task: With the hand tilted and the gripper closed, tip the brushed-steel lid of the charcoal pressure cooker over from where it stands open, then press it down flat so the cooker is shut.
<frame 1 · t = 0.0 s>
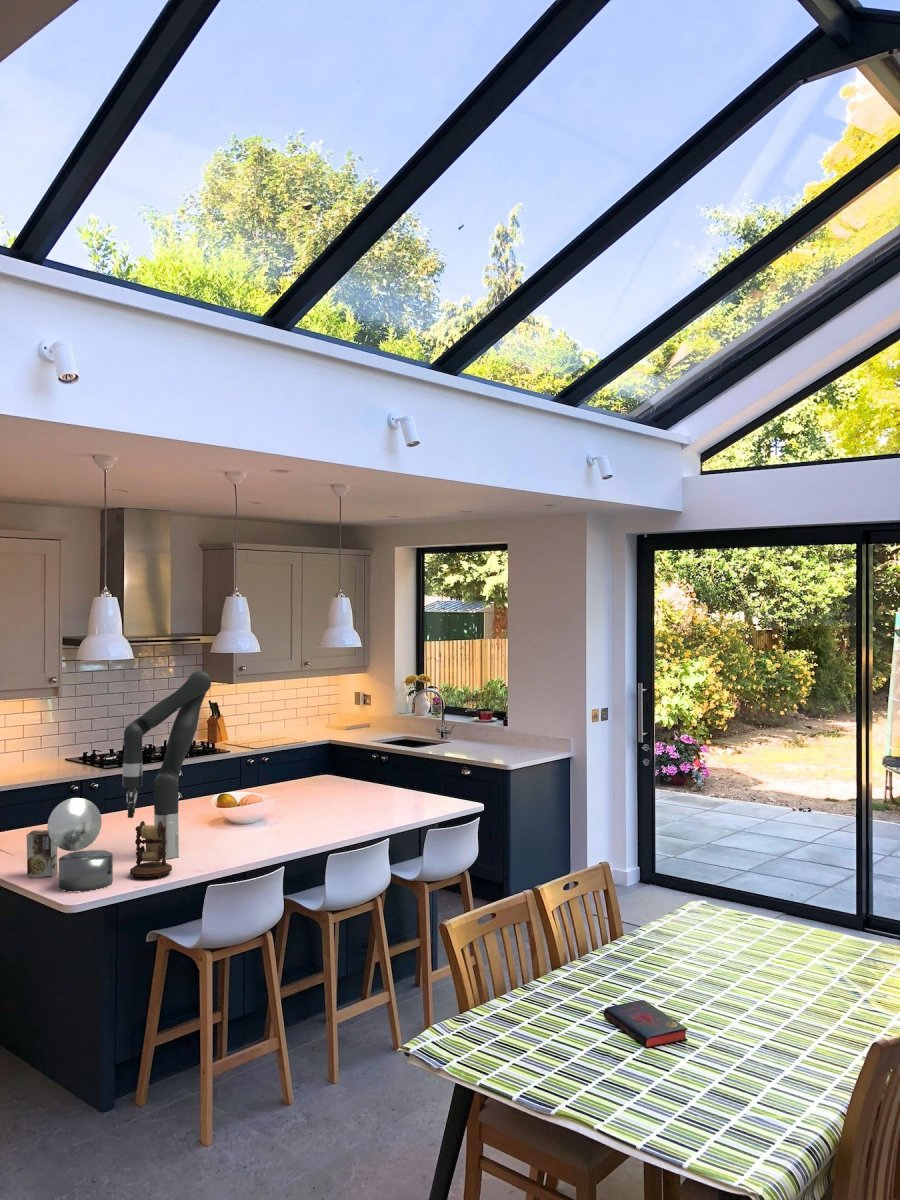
hand: (131, 815, 377), 17 cm above the table, tool pointing down, fingers open, 8 cm apart
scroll: (151, 875, 354), on the table
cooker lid: (74, 824, 352), point 20 cm above the table, hinge at 96.0°
coffee box: (42, 875, 355), on the table
pressure cooker: (86, 884, 342), on the table
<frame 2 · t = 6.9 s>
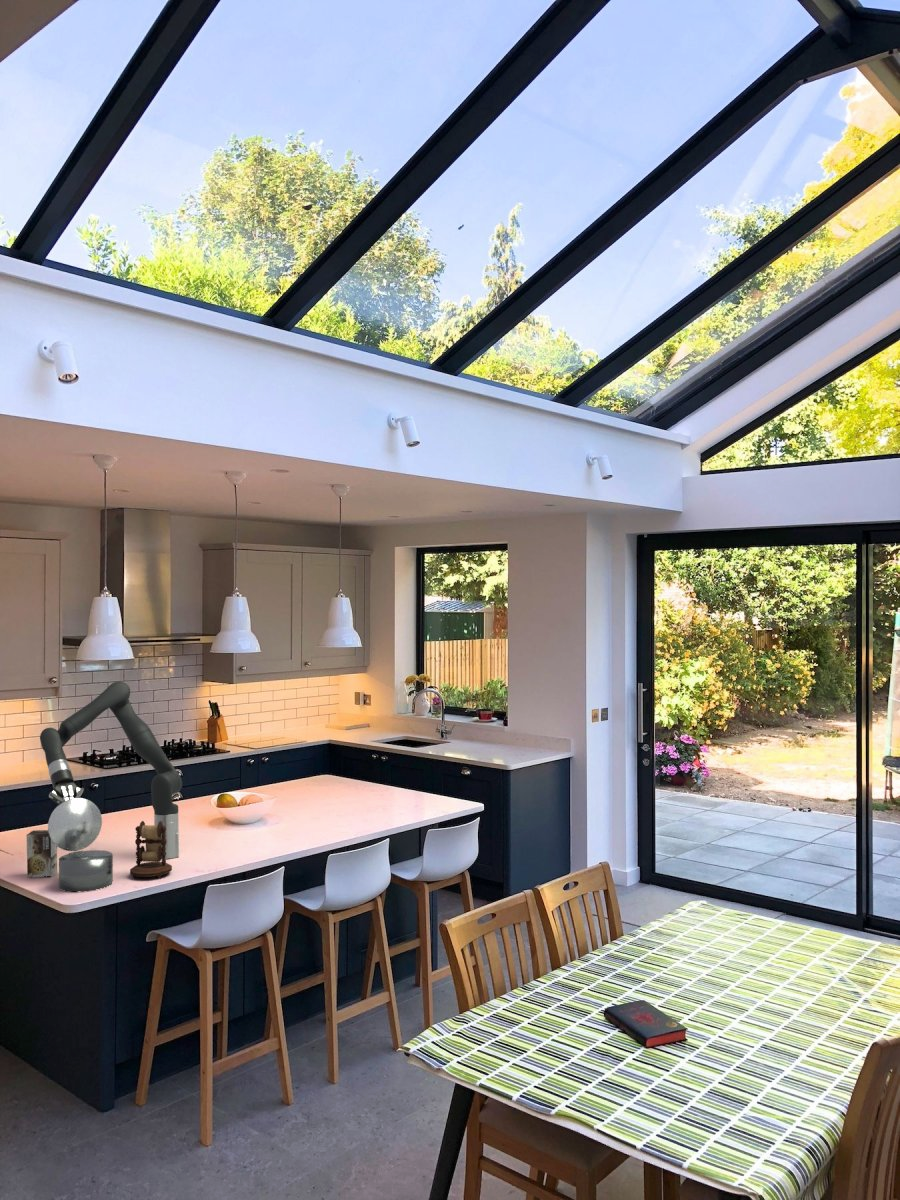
hand: (72, 812, 352), 24 cm above the table, tool tilted 45°, fingers closed
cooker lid: (74, 824, 351), point 20 cm above the table, hinge at 93.1°, touching gripper
everything else where it was.
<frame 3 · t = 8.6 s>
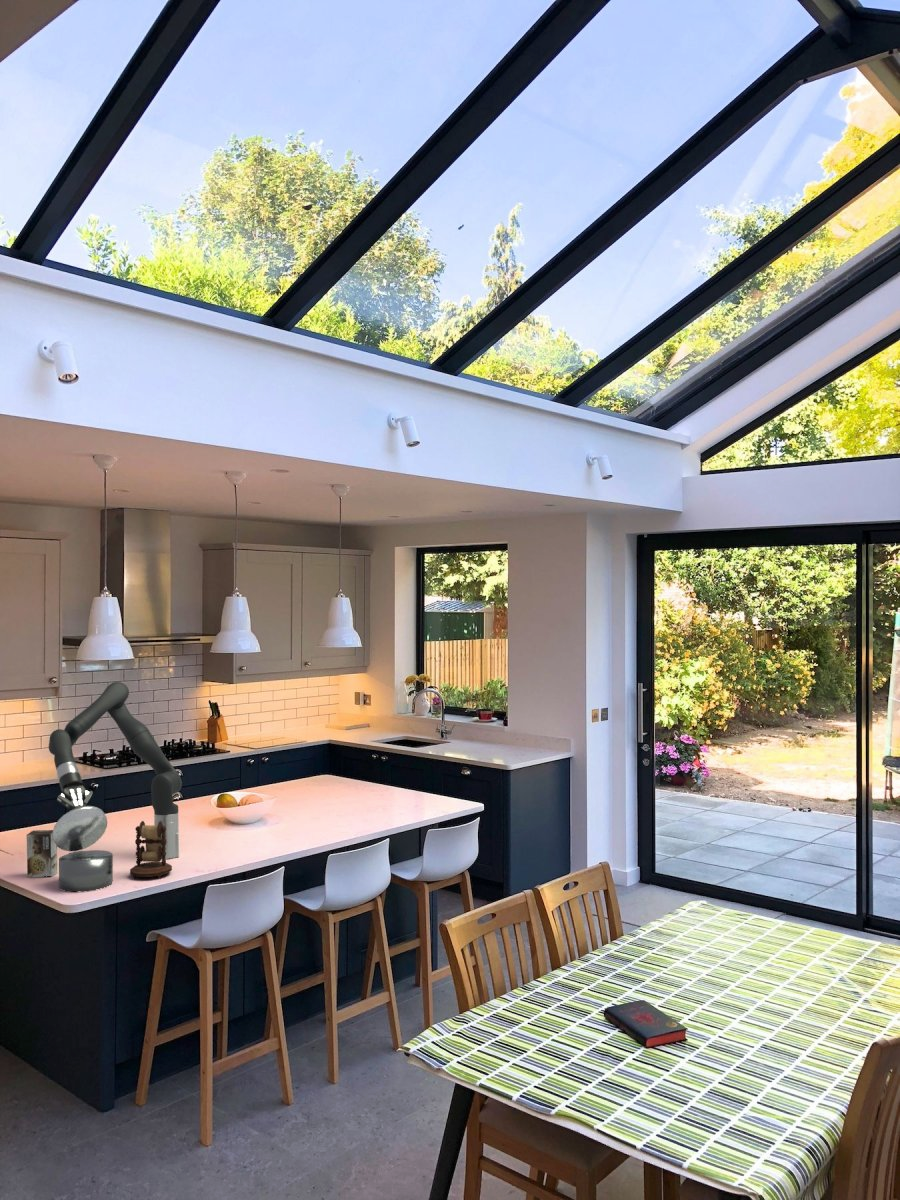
hand: (80, 816, 346), 24 cm above the table, tool tilted 45°, fingers closed
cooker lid: (79, 827, 347), point 19 cm above the table, hinge at 61.8°, touching gripper
everything else where it was.
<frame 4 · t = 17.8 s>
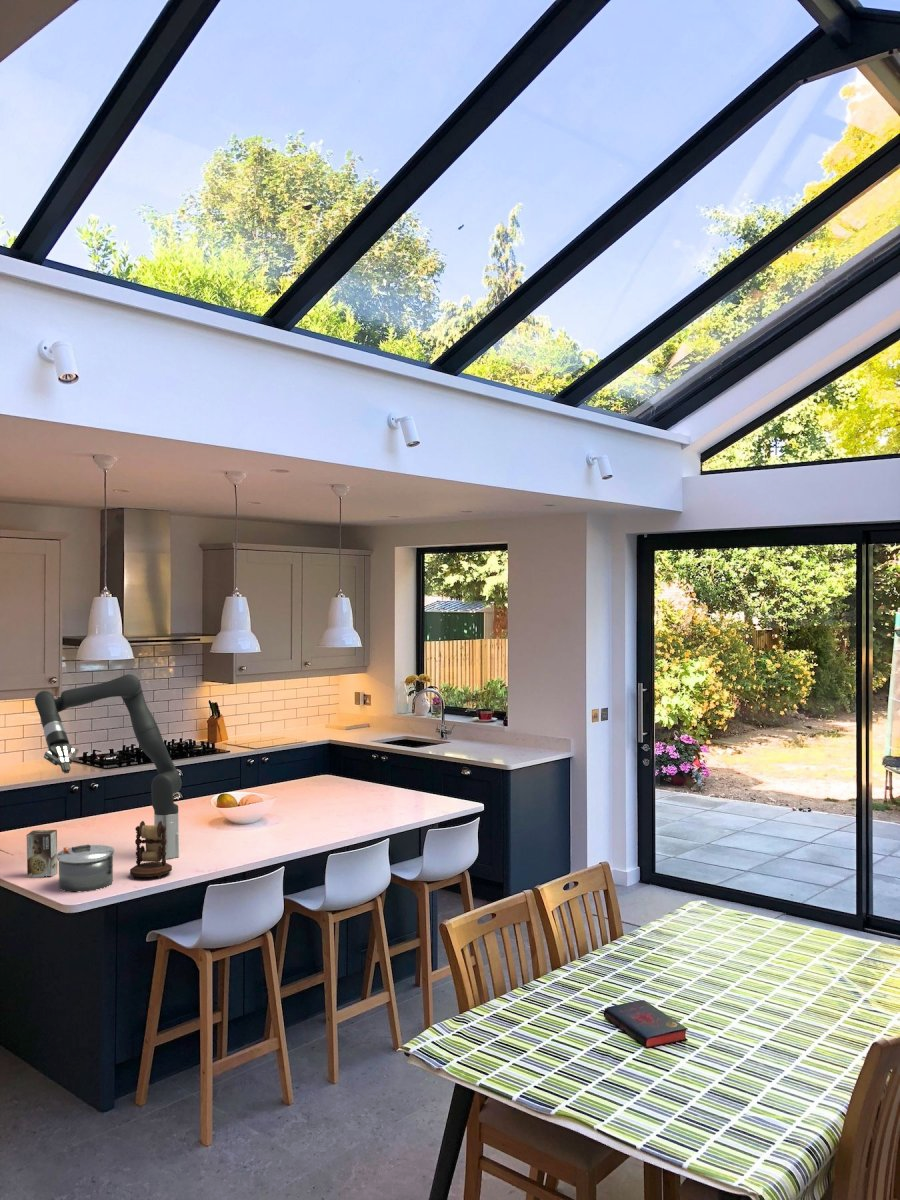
hand: (67, 771, 357), 38 cm above the table, tool tilted 45°, fingers closed
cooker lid: (86, 851, 342), point 12 cm above the table, hinge at -0.5°
everything else where it was.
at the end: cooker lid at +0° (first picture: +96°); coffee box moved 0.2 cm from its start; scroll moved 0.3 cm from its start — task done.
